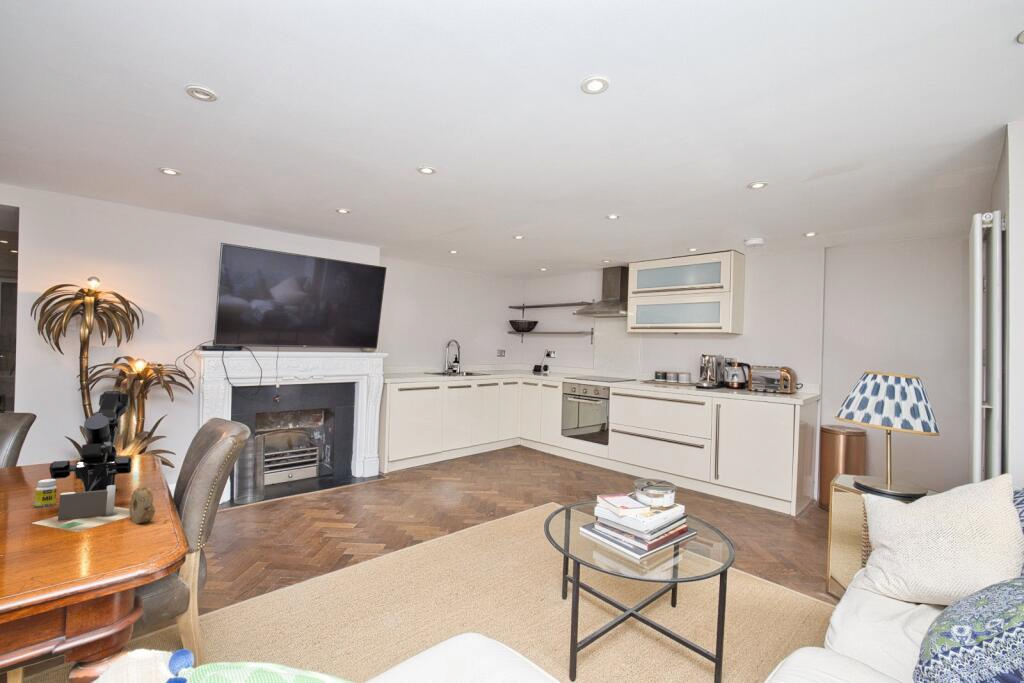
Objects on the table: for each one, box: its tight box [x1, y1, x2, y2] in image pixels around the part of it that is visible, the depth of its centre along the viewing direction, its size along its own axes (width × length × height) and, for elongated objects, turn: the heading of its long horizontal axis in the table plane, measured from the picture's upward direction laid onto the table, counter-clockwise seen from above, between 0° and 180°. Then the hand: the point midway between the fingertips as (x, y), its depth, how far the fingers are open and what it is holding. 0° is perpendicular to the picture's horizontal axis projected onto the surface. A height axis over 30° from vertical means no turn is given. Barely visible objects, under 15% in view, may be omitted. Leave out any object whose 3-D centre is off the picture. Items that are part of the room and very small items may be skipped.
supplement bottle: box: [33, 478, 58, 509], centre depth 142 cm, size 5×5×8 cm
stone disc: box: [129, 486, 156, 524], centre depth 134 cm, size 10×4×10 cm, turn 57°
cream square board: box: [32, 506, 131, 533], centre depth 135 cm, size 18×18×1 cm
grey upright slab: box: [57, 484, 117, 521], centre depth 134 cm, size 12×2×8 cm, turn 124°
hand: (87, 491), depth 137 cm, fingers closed
